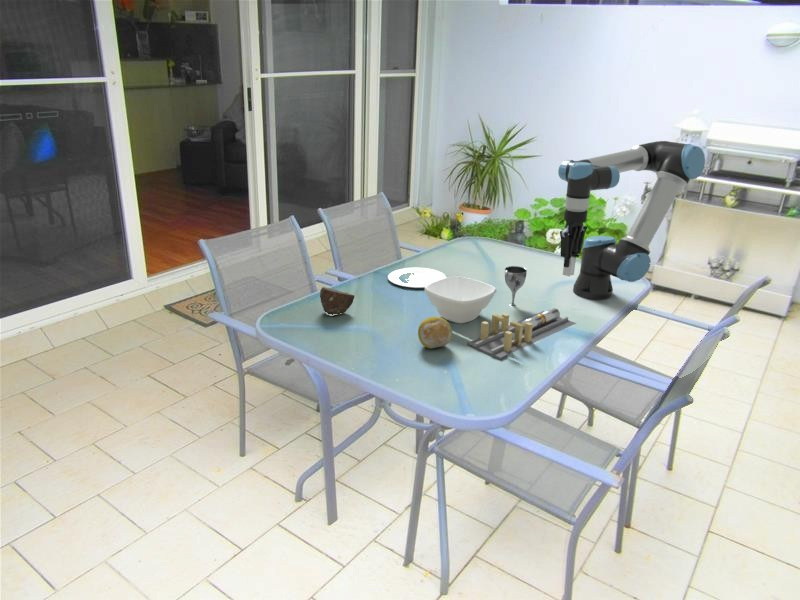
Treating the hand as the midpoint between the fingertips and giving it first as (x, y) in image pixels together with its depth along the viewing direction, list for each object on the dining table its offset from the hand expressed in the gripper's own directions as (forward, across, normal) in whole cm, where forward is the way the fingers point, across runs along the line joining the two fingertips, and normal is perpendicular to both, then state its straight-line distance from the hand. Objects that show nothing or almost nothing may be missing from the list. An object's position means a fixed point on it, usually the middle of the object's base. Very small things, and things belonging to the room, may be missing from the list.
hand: (568, 274), depth 212 cm
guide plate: (+16, +23, 0) cm, 28 cm away
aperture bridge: (+16, +32, 0) cm, 36 cm away
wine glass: (+17, +6, -18) cm, 25 cm away
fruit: (+17, +53, -13) cm, 57 cm away
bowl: (+17, +30, -24) cm, 42 cm away
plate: (+17, +14, -63) cm, 67 cm away
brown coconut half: (+17, +62, -56) cm, 85 cm away
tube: (+16, +14, 0) cm, 21 cm away
